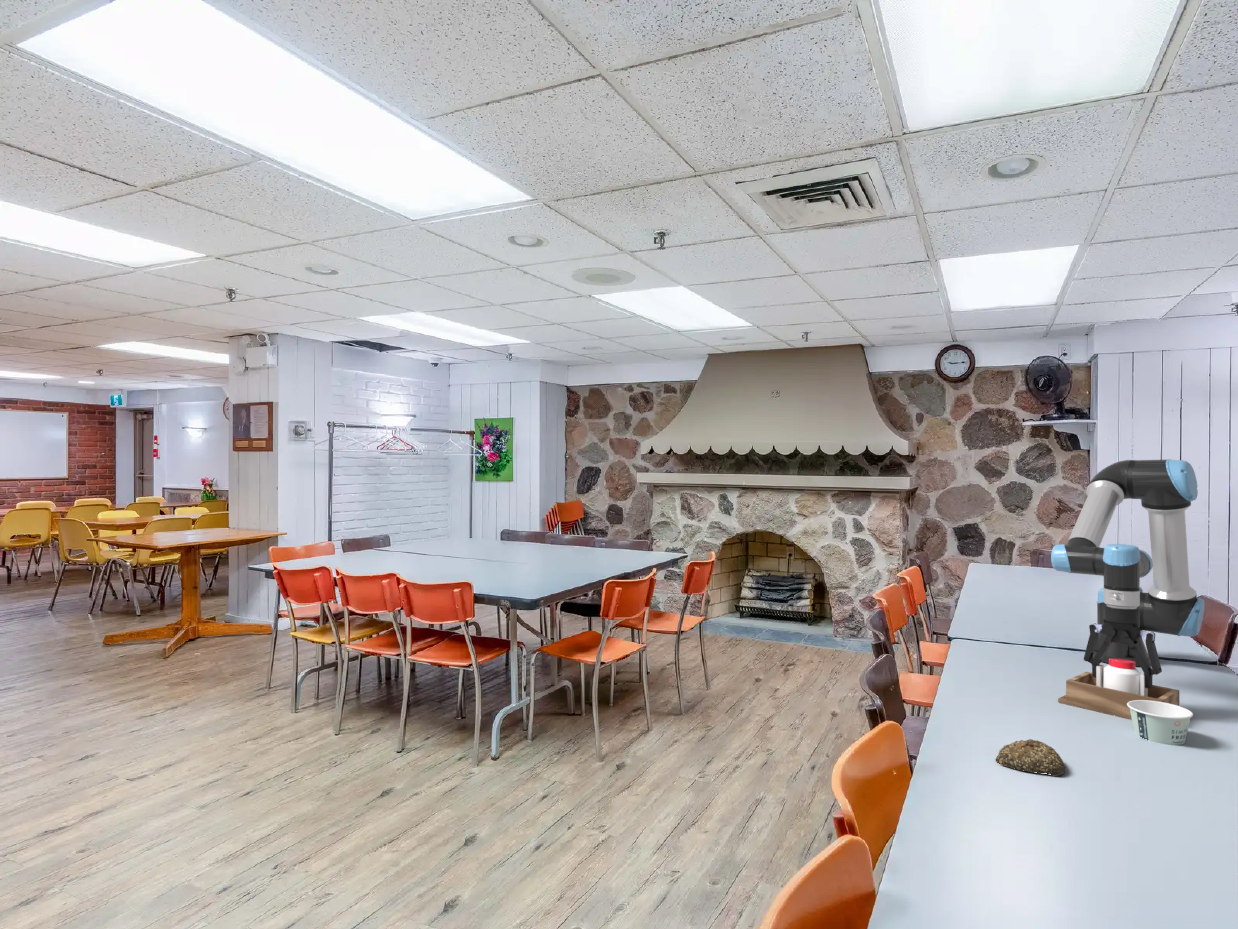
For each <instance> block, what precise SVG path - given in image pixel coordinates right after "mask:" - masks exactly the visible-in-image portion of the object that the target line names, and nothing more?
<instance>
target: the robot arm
mask: <svg viewBox="0 0 1238 929" xmlns="http://www.w3.org/2000/svg"><path fill="white" fill-rule="evenodd" d="M1085 492H1086V496H1087V498H1086V499H1085V502H1084V503H1083V506H1082V509H1081V511H1080V513H1079V515H1078V518H1077V520H1076V522H1075V524H1074V526H1073V529H1072V531H1071V533H1070V536H1069V537H1068V540H1067V542H1066V544H1064V543H1063V544H1056V545H1054V546H1053V548H1052V549H1051V553H1050V554H1051V556H1050V561H1051V566H1052V568H1053V569H1054V570H1055V571H1057V572H1064V573H1068V574H1078V575H1079V574H1081V575H1091V576H1092V575H1093V576H1101V577H1103V587H1102V588H1100V589H1099V590H1098V592H1097V600H1096V606H1097V608H1096V610H1097V613H1096V615H1097V616H1096V617H1097V619H1096V620H1097V621H1096V622H1097V623H1091V624H1089V626H1088V628H1089V635H1088V636H1089V637H1088V641H1087V644H1086V647H1085V651H1084V656H1083V661H1084V662H1087V663H1089V664H1091V670H1092V671H1091V673H1092V676H1093V677H1095V678H1096V686H1100V687H1103V675H1104V667H1105V665H1104V664H1101V663H1106V664H1109V658H1122V659H1128V660H1132V661H1135V667H1140V669H1141V671H1142V672H1143V673H1141V675H1140V695H1142V696H1147V697H1148V688H1149V689H1150V688H1152V685H1153V675H1156V676H1157V675H1159V674H1160V673H1162V672H1163V669H1162V665H1161V662H1160V658H1159V655H1158V654H1159V653H1158V650H1157V647H1156V646H1157V645H1156V642H1155V641H1156V633H1158V634H1165V635H1171V636H1173V635H1174V636H1177V637H1180V636H1181V637H1188V638H1189V637H1190V638H1193V637H1196V636H1197V635H1198V634H1199V632H1200V631H1201V628H1202V624H1203V621H1204V620H1203V619H1204V613H1205V605H1206V604H1205V600H1204V599H1203V598H1200V597H1198V596H1197V591H1196V590H1195V589H1194V588H1193V587H1191V586H1190V575H1189V574H1190V572H1189V557H1188V543H1187V542H1188V541H1187V526H1186V525H1187V524H1186V512H1185V511H1186V510H1188V509H1189V508H1190V507H1191V506H1192V502H1193V501H1196V500H1197V498H1198V481H1197V476H1196V472H1195V470H1194V468H1193V466H1192V465H1191V463H1189V462H1188V461H1187V460H1184V459H1183V460H1181V459H1170V458H1168V459H1137V460H1136V459H1126V460H1121V461H1117V462H1114V463H1112V464H1110V465H1107V466H1106V467H1105V468H1103V469H1101V470H1100V471H1099V472H1097V474H1096V475H1094V476H1093V477H1092V479H1091V480H1090V481H1089V483H1088V485H1087V488H1086V491H1085ZM1128 499H1129V500H1130V499H1132V500H1140V502H1141V507H1142V508H1143V509H1145V510H1146V511H1147V512H1148V526H1149V527H1148V528H1149V537H1150V539H1149V541H1150V549H1151V550H1150V551H1151V552H1150V553H1151V556H1150V554H1148V553H1147V552H1146V551H1145V550H1143V549H1140V548H1139V547H1138V546H1137V545H1134V544H1125V543H1123V544H1122V543H1111V544H1110V543H1109V544H1106V545H1105V546H1104V547H1101V545H1102V542H1103V539H1104V537H1105V535H1106V532H1107V529H1108V527H1109V525H1110V523H1111V519H1112V517H1113V515H1114V512H1115V510H1116V508H1117V506H1119V505H1120V504H1121V503H1123V501H1124V500H1128ZM1151 571H1152V580H1153V581H1152V582H1153V585H1152V586H1150V587H1149V588H1148V589H1147V592H1144V590H1143V588H1142V586H1141V587H1140V585H1141V581H1140V579H1142V578H1145V577H1146V576H1148V574H1149V573H1150V572H1151ZM1144 642H1145V643H1144Z"/></svg>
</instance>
